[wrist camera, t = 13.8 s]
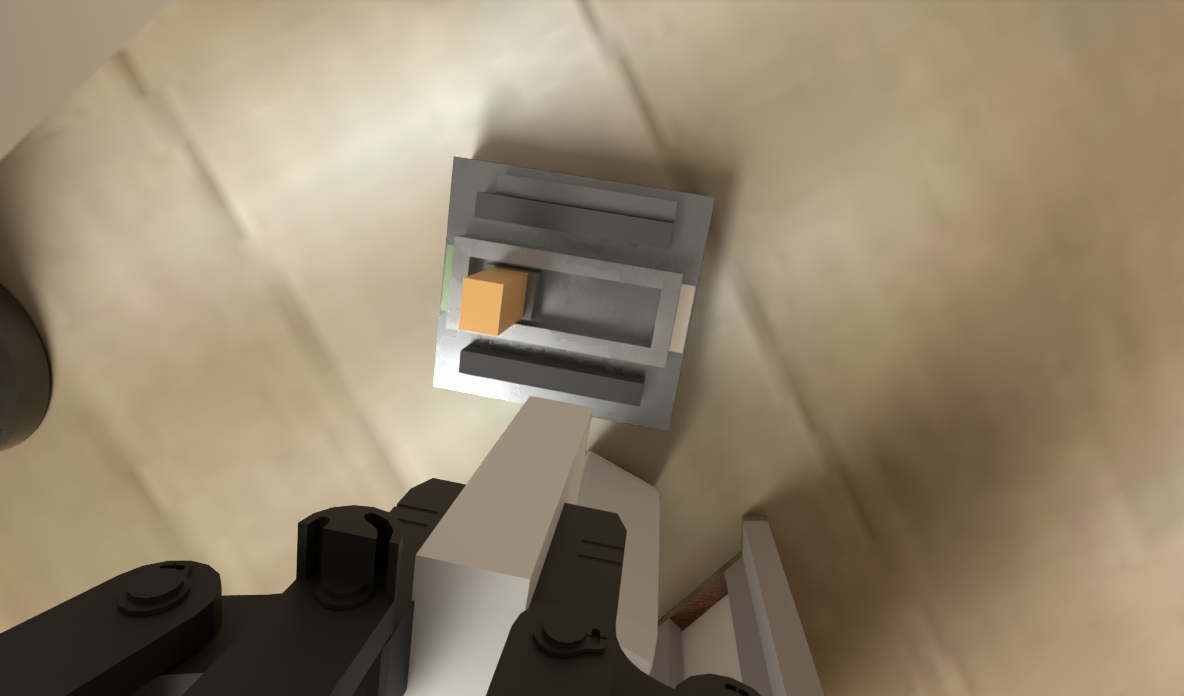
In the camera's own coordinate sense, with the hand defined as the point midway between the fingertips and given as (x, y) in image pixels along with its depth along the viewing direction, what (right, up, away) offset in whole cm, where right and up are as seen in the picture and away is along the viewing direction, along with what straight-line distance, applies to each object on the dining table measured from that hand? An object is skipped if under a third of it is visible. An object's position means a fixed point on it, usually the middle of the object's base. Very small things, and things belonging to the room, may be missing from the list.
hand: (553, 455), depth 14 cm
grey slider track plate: (-1, +6, +21) cm, 21 cm away
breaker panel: (0, +6, +24) cm, 24 cm away
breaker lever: (-4, +6, +21) cm, 22 cm away
